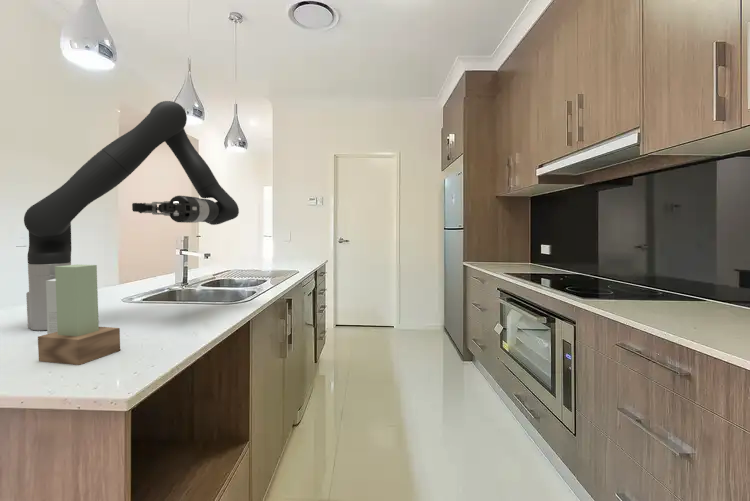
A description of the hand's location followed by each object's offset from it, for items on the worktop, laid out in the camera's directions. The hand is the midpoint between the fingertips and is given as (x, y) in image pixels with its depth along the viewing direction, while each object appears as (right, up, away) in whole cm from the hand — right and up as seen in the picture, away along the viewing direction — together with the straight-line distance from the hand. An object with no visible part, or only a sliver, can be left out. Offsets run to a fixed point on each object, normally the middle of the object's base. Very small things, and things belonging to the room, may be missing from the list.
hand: (147, 207), depth 108 cm
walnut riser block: (-5, -33, -18) cm, 38 cm away
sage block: (-5, -28, -18) cm, 34 cm away
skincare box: (-17, -32, -4) cm, 37 cm away
